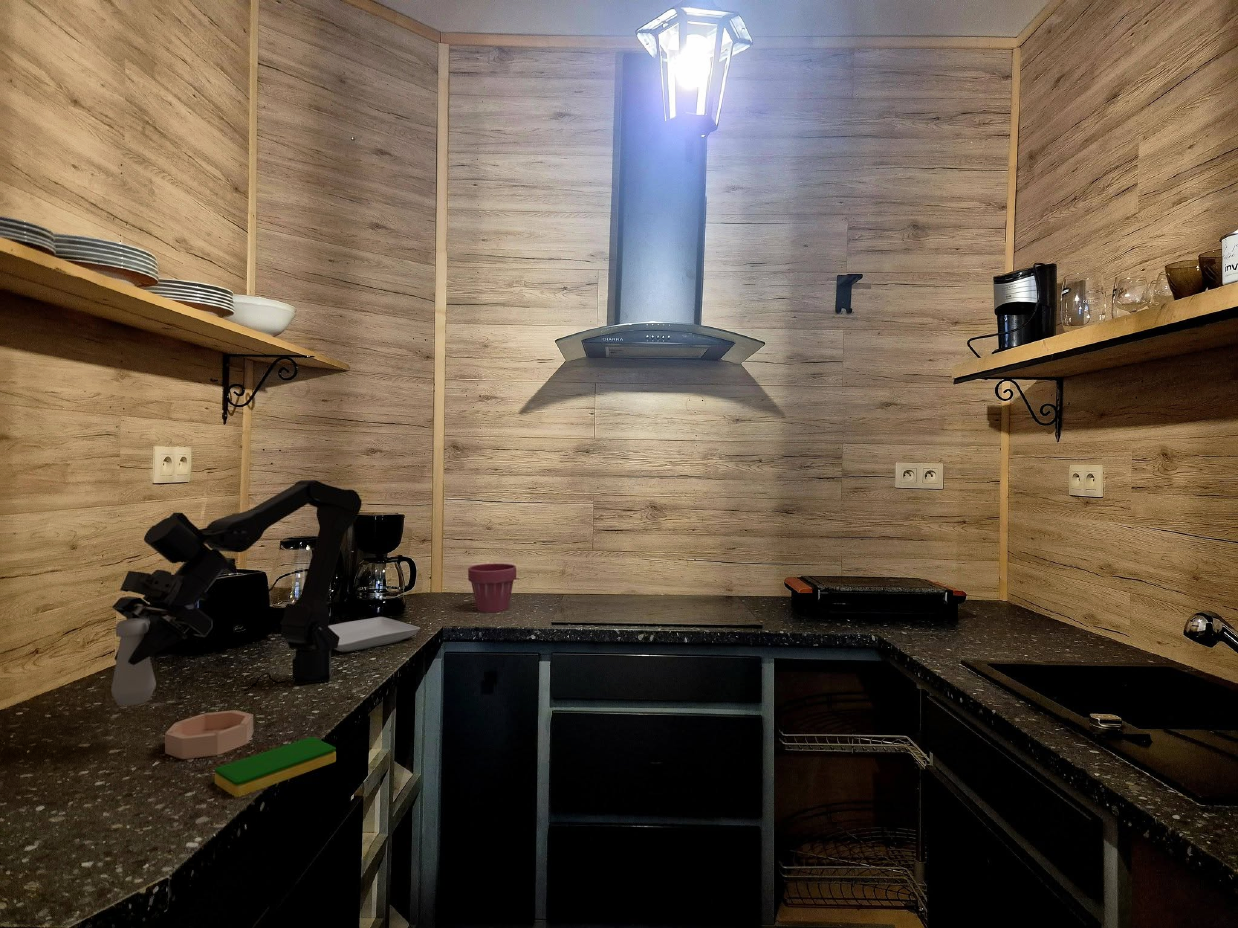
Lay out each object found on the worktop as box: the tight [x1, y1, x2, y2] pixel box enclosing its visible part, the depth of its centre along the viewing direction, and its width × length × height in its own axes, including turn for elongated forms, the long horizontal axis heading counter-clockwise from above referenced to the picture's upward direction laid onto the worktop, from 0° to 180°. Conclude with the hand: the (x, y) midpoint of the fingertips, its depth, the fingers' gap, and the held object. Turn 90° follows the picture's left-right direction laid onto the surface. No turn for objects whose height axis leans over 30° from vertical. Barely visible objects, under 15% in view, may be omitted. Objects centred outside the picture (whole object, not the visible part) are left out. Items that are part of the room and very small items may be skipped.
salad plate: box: [328, 616, 421, 653], centre depth 170 cm, size 21×21×3 cm
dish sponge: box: [214, 736, 337, 798], centre depth 97 cm, size 7×14×2 cm, turn 141°
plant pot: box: [467, 563, 517, 614], centre depth 205 cm, size 14×14×13 cm
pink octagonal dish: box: [164, 709, 254, 760], centre depth 107 cm, size 11×11×3 cm
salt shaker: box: [110, 618, 157, 707], centre depth 109 cm, size 6×6×13 cm
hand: (123, 662), depth 108 cm, fingers closed on salt shaker, 3 cm apart
